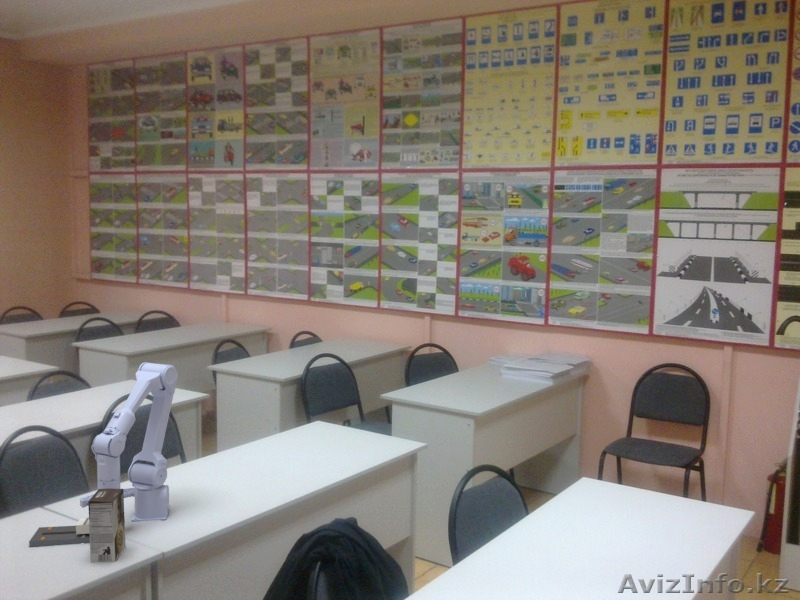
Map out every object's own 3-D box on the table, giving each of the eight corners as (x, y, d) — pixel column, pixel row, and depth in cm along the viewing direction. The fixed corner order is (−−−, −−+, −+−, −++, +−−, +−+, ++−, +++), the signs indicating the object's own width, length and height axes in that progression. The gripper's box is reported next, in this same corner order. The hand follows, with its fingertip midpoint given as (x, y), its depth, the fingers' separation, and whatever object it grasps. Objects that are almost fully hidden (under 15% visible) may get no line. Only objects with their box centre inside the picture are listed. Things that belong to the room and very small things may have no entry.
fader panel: (101, 529, 207) (101, 524, 207) (94, 543, 199) (94, 537, 198) (39, 532, 205) (39, 527, 204) (29, 546, 196) (29, 540, 196)
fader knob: (96, 526, 205) (96, 517, 205) (92, 533, 200) (92, 524, 200) (80, 526, 204) (80, 517, 204) (76, 534, 199) (75, 525, 199)
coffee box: (100, 549, 195) (98, 488, 194) (126, 548, 196) (124, 487, 195) (89, 564, 186) (87, 500, 185) (116, 563, 187) (114, 499, 186)
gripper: (130, 468, 210) (131, 516, 211) (76, 479, 201) (77, 528, 202) (140, 475, 204) (140, 524, 205) (84, 486, 195) (85, 537, 196)
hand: (109, 527), depth 203 cm, fingers closed
